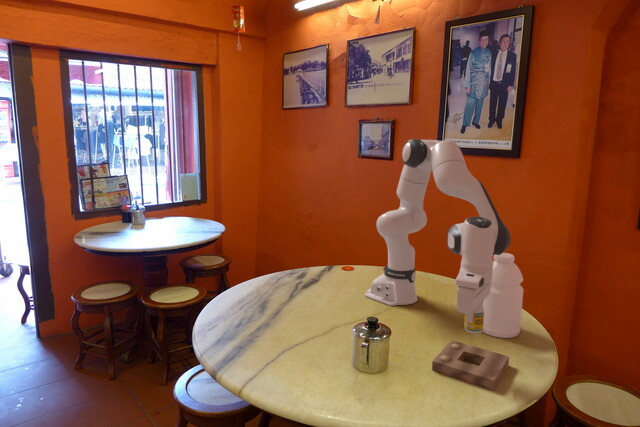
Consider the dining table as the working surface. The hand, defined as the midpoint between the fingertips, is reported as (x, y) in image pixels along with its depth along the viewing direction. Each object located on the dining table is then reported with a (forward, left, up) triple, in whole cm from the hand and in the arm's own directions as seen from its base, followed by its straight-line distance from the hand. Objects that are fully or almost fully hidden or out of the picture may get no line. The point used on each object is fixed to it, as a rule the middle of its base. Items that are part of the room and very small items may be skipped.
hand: (474, 317), depth 130 cm
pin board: (0, 0, -16) cm, 16 cm away
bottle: (0, +31, -17) cm, 35 cm away
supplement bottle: (0, 0, -4) cm, 4 cm away
